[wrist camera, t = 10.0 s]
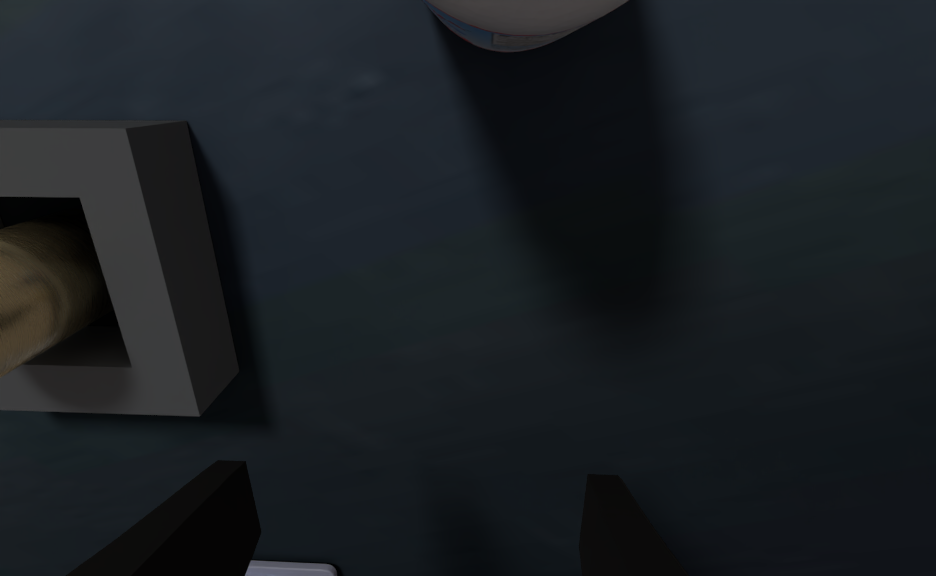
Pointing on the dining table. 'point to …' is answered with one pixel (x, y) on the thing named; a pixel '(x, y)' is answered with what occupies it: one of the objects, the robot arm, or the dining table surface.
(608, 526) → the robot arm
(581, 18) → the pill bottle
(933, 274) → the dining table surface
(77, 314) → the brass cylinder
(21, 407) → the coupling block
